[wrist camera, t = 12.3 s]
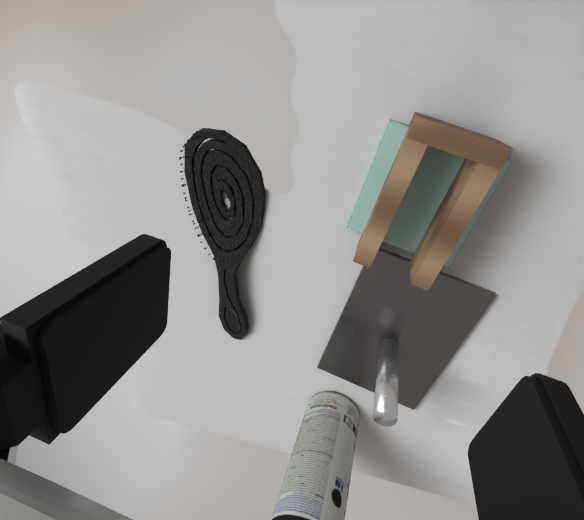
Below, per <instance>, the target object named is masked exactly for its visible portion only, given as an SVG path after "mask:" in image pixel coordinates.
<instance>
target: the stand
mask: <svg viewBox="0 0 584 520" xmlns="http://www.w3.org/2000/svg"><path fill="white" fill-rule="evenodd" d="M495 296H496V295H495V293H494V292H491V291H488V290H486V289H483V288H481V287H478V286H476V285H473V284H470V283H468V282H465V281H463V280H460V279H458V278H455V277H452V276H450V275H447V274H445V273H442V272H439V274H438V275H437V277H436V279H435V280H434V282H433V284H432V286H431V287H430V289H429V291H427V290H424V289H421V288H419V287H416V286H414V285H411V276H410V260H409V259H406V258H403V257H401V256H398V255H396V254H393V253H391V252H388V251H385V250H383V249H380V248H379V250H378V252H377V254H376V256H375V258H374V260H373V262H372V264H371V267H370V268H369V267H366V266H363V268H362V270H361V272H360V274H359V277H358V279H357V281H356V283H355V285H354V288H353V290H352V292H351V294H350V296H349V299H348V301H347V303H346V305H345V307H344V309H343V312H342V314H341V316H340V318H339V320H338V323H337V325H336V327H335V329H334V331H333V334H332V336H331V338H330V340H329V342H328V344H327V347H326V349H325V351H324V353H323V355H322V358H321V360H320V362H319V364H318V367H317V368H319V369H322V370H324V371H326V372H328V373H331V374H333V375H335V376H338V377H340V378H342V379H345V380H347V381H349V382H351V383H354V384H356V385H358V386H361V387H363V388H365V389H367V390H370V391H372V392H374V393H375V399H374V410H373V418H374V420H375V421H376V422H377V423H378V424H380V425H383V426H392V425H394V424H395V423H396V422H397V412H398V403H400V404H402V405H404V406H406V407H409V408H411V409H413V410H414V409H415V407H416V406H417V404H418V403H419V402H420V400H421V399H422V398H423V396H424V395H425V393H426V392H427V391H428V389H429V388H430V386H431V385H432V384H433V382H434V381H435V379H436V378H437V377H438V375H439V374H440V373H441V371H442V370H443V368H444V367H445V366H446V364H447V363H448V361H449V360H450V359H451V357H452V356H453V354H454V353H455V352H456V350H457V349H458V347H459V346H460V345H461V343H462V342H463V341H464V339H465V338H466V336H467V335H468V334H469V332H470V331H471V329H472V328H473V327H474V325H475V324H476V322H477V321H478V320H479V318H480V317H481V315H482V314H483V313H484V311H485V310H486V309H487V307H488V306H489V304H490V303H491V302H492V300H493V299H494V297H495Z"/></svg>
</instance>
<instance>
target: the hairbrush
mask: <svg viewBox="0 0 584 520" xmlns="http://www.w3.org/2000/svg"><path fill="white" fill-rule="evenodd" d="M208 138H212V139H211V140H208V141H207V142H205V143H203V144H202V142H203V141H204V140H205V139H208ZM201 144H202V145H201ZM184 145H185V146H183V147H185V176H186V180H187V185H188V189H189V194H190V198H191V203H192V207H193V210H194V213H195V215H196V218H197V221H198V223H199V227H200V229H201V231H202V235H204V237H205V239H206V241H207V243H208V245H209V247H210V249H211V251H212V252H213V254H214V258H213V260H215V262H216V267H217V271H218V279H219V298H220V300H219V317H220V320H221V322H222V325H223V328H224V330H225V331H226V332H228V333H229V334H230V335H231V336H232V337H233V338H235V339H239V340H241V339H242V338H243V336H244V335H245V334H247V331H248V321H247V315H246V313H245V310H244V308H243V305H242V303H241V300H240V297H239V291H238V283H237V276H236V271H237V269H238V267H239V265H240V262H241V260H242V259H243V257H244V256H245V254H246V253H247V252H248V250H249V249H250V247H251V246H252V245H253V244H252V243H254V242H255V241H254V240H256V239H255V238H256V237H257V235H258V233H259V231H260V228H261V224H262V220H263V216H264V209H265V189H264V183H263V178H262V173H261V171H260V169H259V167H258V165H257V164H256V162H255V160H254V158H253V157H252V155H251V153H250V151H249V150H248V148H247V146H246V145H245V144H243V143H242V142H240V141H239V140H238V139H236V138H234V137H233V136H232V135H230V134H229V133H227V132H226V131H224V130H214V129H209V128H208V129H206V128H203V129H201V130H199V131H196V133H194V134H193V135H192V137H191V138H190V139H189V140H187V143H186V144H184ZM200 145H201V146H200ZM199 146H200V148H198V147H199ZM215 148H216V149H215ZM217 148H218V149H217ZM197 149H198V150H197ZM210 149H214V150H211V151H210V152H209V154H208V155H207V156H206V154H207V152H208V151H209V150H210ZM183 151H184V150H183ZM181 152H182V150H181ZM205 156H206V157H205ZM181 158H183V157H180V159H181ZM180 165H182V164H180ZM216 165H219V166H217V168H216V169H215V167H216ZM214 170H215V171H214ZM180 172H182V171H180ZM182 179H184V178H182ZM182 179H181V180H182ZM183 185H184V186H186V185H185V184H182V187H184V186H183ZM222 190H223V191H224V190H225V192H226V194H227V197H228V199H229V201H230V203H231V206H230V208H229V209H228V210H227V209H226V206H227V205H225V203H224V200H223V199H225V198H224V197H223V198H222V196H223V195H222ZM183 194H185V193H183ZM185 199H186V197H185ZM244 199H245V207H244ZM254 200H255V206H254ZM185 201H187V200H185ZM236 206H237V212H236ZM187 208H189V207H187ZM189 211H190V210H189ZM235 213H236V216H235ZM244 213H245V223H244V225H243V226H242V224H243V222H244ZM189 215H191V214H189ZM253 215H254V221H253V222H254V223H253V226H252V228H251V225H252V220H253ZM234 216H235V217H234ZM231 217H234V218H233V219H229V218H231ZM192 222H194V221H192ZM193 224H195V223H193ZM241 227H242V229H241ZM197 228H198V227H197ZM250 228H251V229H250ZM195 229H196V228H195ZM240 229H241V231H240V233H239V234H238V235H236V234H237V233H238V231H239V230H240ZM250 230H251V231H250ZM249 231H250V233H249ZM248 233H249V234H248ZM199 235H200V234H198V235H197V236H198V237H199ZM235 235H236V236H235ZM247 235H248V239H247V241H246V242H245V243H244V244H243V245H242V246H240V247H238V246H239V245H241V244H242V243H243V242H244V240H245V239H246V237H247ZM200 236H201V235H200ZM200 243H202V241H201V242H200ZM236 247H237V248H236ZM204 249H206V248H204ZM209 255H210V254H209Z"/></svg>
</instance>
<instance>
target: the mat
mask: <svg viewBox="0 0 584 520" xmlns="http://www.w3.org/2000/svg"><path fill="white" fill-rule="evenodd" d="M408 127H409V126H407V125H404V124H401V123H398V122H396V121H393V120H389V123H388V125H387V128H386V130H385V133H384V135H383V138H382V140H381V143H380V145H379V148H378V150H377V153H376V155H375V158H374V160H373V163H372V165H371V168H370V170H369V172H368V175H367V177H366V180H365V182H364V185H363V187H362V190H361V192H360V195H359V197H358V200H357V202H356V205H355V207H354V210H353V212H352V215H351V217H350V220H349V222H348V225H347V227H346V228H349V229H351V230H354V231H357V232H359V233H363V231H364V228H365V226H366V224H367V222H368V219H369V217H370V215H371V212H372V210H373V208H374V205H375V203H376V201H377V198H378V196H379V194H380V192H381V189H382V187H383V185H384V182H385V180H386V178H387V175H388V173H389V171H390V168H391V166H392V164H393V162H394V159H395V157H396V155H397V152H398V150H399V148H400V145H401V143H402V141H403V139H404V136H405V134H406V132H407V129H408ZM464 159H465V158H463V157H460V156H457V155H454V154H451V153H449V152H446V151H443V150H440V149H437V148H434V147H431V146H429V145H428V146H427V148H426V150H425V152H424V154H423V156H422V159H421V161H420V163H419V165H418V167H417V169H416V171H415V173H414V175H413V178H412V180H411V182H410V184H409V186H408V188H407V190H406V192H405V195H404V197H403V199H402V201H401V203H400V205H399V207H398V209H397V211H396V214H395V216H394V218H393V220H392V222H391V224H390V226H389V228H388V231H387V233H386V235H385V237H384V239H383V242H385V243H388V244H390V245H393V246H396V247H398V248H401V249H403V250H406V251H409V252H411V253H415V251H416V249H417V247H418V245H419V243H420V242H421V240H422V238H423V236H424V234H425V232H426V230H427V228H428V227H429V225H430V223H431V221H432V219H433V217H434V215H435V213H436V212H437V210H438V208H439V206H440V204H441V202H442V200H443V198H444V197H445V195H446V193H447V191H448V189H449V187H450V185H451V184H452V182H453V180H454V178H455V176H456V174H457V172H458V170H459V169H460V167H461V165H462V163H463V161H464ZM510 164H511V161H509V160H506V161H505V163H504V165H503V166H502V168H501V170H500V171H499V173H498V175H497V176H496V178H495V180H494V181H493V183H492V185H491V186H490V188H489V190H488V191H487V193H486V195H485V197H484V198H483V200H482V202H481V203H480V205H479V207H478V208H477V210H476V212H475V213H474V215H473V217H472V218H471V220H470V222H469V223H468V225H467V227H466V228H465V230H464V232H463V233H462V235H461V237H460V238H459V240H458V242H457V244H456V245H455V247H454V249H453V250H452V252H451V254H450V255H449V257H448V259H447V260H446V262H445V264H444V265H445V266H447V267H449V265H450V264H451V262H452V260H453V259H454V257H455V255H456V254H457V252H458V250H459V249H460V247H461V245H462V244H463V242H464V240H465V239H466V237H467V235H468V234H469V232H470V230H471V229H472V227H473V225H474V224H475V222H476V221H477V219H478V217H479V216H480V214H481V212H482V211H483V209H484V207H485V206H486V204H487V202H488V201H489V199H490V197H491V196H492V194H493V192H494V191H495V189H496V187H497V186H498V184H499V182H500V181H501V179H502V177H503V176H504V174H505V172H506V171H507V169H508V167H509V166H510Z"/></svg>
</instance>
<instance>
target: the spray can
mask: <svg viewBox="0 0 584 520" xmlns="http://www.w3.org/2000/svg"><path fill="white" fill-rule="evenodd" d="M358 422H359V412H358V409H357V407H356V405H355V404H354V402H353V401H352V400H351V399H349V398H348V397H346V396H345V395H343V394H340V393H338V392H333V391H324V392H319V393H317V394H315V395H314V396H313V397H312V398H311V399H310V401H309V402H308V405H307V408H306V411H305V414H304V417H303V420H302V424H301V427H300V430H299V433H298V436H297V439H296V443H295V446H294V449H293V452H292V455H291V458H290V461H289V464H288V468H287V471H286V474H285V477H284V481H283V484H282V487H281V490H280V493H279V496H278V499H277V503H276V505H275V509H274V512H273V515H272V518H271V520H344V518H345V512H346V505H347V498H348V490H349V485H350V478H351V471H352V464H353V457H354V450H355V443H356V436H357V430H358Z"/></svg>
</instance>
